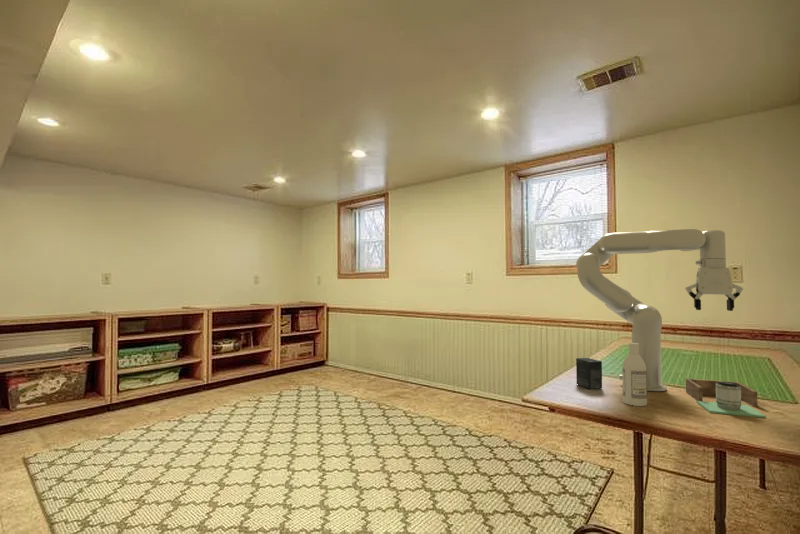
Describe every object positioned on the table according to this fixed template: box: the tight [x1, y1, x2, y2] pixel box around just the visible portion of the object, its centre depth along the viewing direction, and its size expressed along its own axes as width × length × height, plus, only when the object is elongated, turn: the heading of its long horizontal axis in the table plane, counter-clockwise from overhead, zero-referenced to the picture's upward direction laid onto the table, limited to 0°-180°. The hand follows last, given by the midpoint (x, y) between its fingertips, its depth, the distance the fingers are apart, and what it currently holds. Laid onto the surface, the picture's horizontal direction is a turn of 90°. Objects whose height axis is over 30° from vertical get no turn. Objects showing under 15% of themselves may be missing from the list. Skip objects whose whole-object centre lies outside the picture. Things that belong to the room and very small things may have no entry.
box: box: [575, 357, 603, 390], centre depth 155 cm, size 8×6×11 cm
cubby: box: [685, 378, 758, 408], centre depth 139 cm, size 16×13×5 cm
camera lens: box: [715, 380, 742, 411], centre depth 128 cm, size 6×6×8 cm
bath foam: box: [621, 342, 648, 407], centre depth 134 cm, size 7×7×20 cm
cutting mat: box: [696, 400, 767, 419], centre depth 128 cm, size 14×11×1 cm
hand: (713, 310), depth 148 cm, fingers open, 9 cm apart
